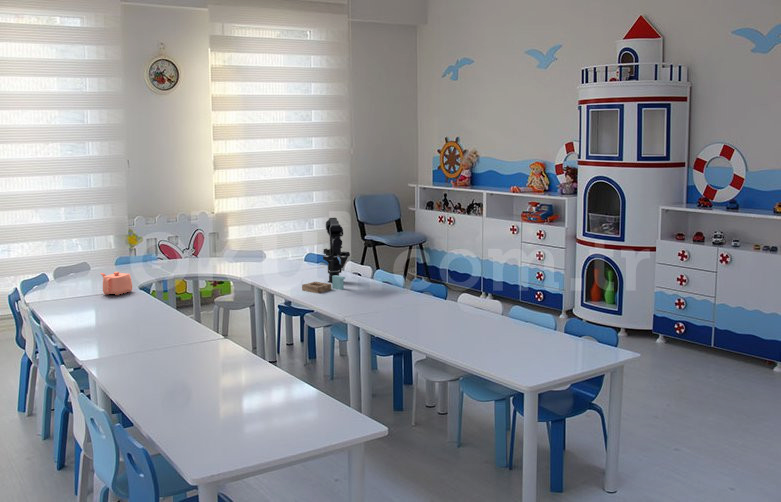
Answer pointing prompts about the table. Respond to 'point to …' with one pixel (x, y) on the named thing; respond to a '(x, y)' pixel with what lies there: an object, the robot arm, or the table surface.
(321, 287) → the well block
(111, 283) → the teapot
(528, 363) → the table surface
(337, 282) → the bracket
